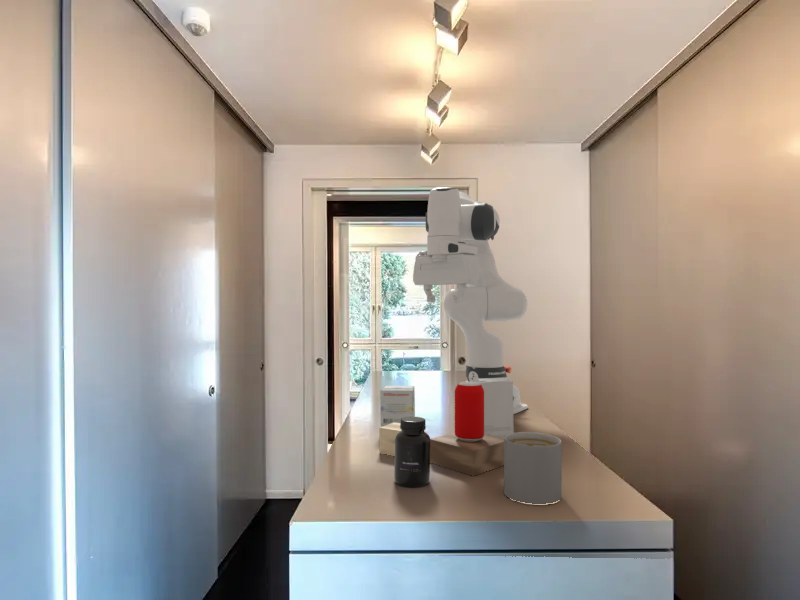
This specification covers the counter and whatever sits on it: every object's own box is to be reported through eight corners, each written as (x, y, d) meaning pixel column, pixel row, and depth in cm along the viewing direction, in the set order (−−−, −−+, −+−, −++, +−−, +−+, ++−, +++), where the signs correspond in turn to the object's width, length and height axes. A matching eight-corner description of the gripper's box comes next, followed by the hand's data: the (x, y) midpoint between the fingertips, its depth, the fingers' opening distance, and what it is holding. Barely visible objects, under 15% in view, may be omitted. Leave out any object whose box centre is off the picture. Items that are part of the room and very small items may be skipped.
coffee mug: (571, 505, 88) (571, 445, 88) (513, 507, 88) (513, 447, 88) (542, 478, 102) (542, 426, 102) (492, 479, 101) (492, 427, 101)
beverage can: (486, 443, 108) (486, 385, 108) (455, 443, 108) (456, 385, 108) (482, 435, 114) (482, 380, 114) (453, 435, 114) (453, 380, 114)
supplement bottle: (404, 490, 95) (404, 424, 95) (388, 479, 101) (388, 417, 101) (437, 484, 98) (437, 420, 98) (419, 473, 104) (419, 413, 104)
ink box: (415, 428, 142) (415, 384, 142) (413, 436, 133) (413, 389, 133) (384, 427, 143) (384, 383, 143) (379, 435, 134) (379, 389, 134)
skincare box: (508, 434, 135) (508, 376, 135) (514, 440, 129) (514, 380, 129) (476, 434, 135) (476, 377, 135) (480, 440, 129) (480, 380, 129)
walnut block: (465, 451, 120) (465, 429, 120) (509, 463, 111) (509, 439, 111) (429, 462, 112) (429, 438, 112) (473, 476, 103) (473, 450, 103)
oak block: (394, 447, 123) (393, 422, 123) (415, 451, 120) (415, 425, 120) (379, 454, 118) (379, 427, 118) (401, 458, 115) (401, 431, 115)
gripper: (407, 251, 141) (407, 302, 141) (466, 245, 126) (466, 302, 126) (424, 252, 145) (424, 302, 145) (482, 246, 130) (482, 302, 130)
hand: (444, 302), depth 135 cm, fingers open, 8 cm apart
